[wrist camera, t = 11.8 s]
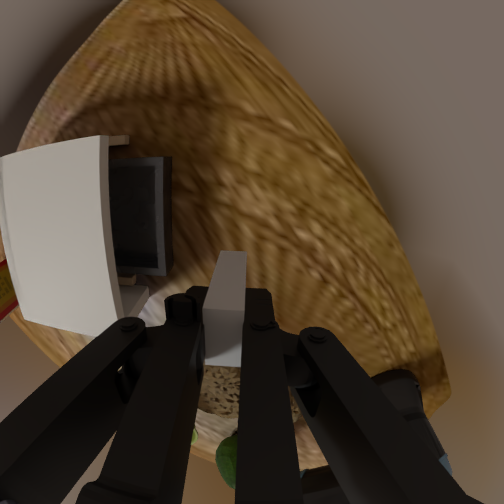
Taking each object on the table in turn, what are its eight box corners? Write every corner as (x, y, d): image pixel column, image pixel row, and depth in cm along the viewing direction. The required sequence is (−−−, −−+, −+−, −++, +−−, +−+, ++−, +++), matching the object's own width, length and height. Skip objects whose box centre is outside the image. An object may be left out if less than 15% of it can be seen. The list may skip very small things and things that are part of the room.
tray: (171, 156, 26) (163, 156, 23) (173, 265, 30) (166, 276, 27) (54, 165, 25) (40, 168, 23) (63, 257, 30) (51, 266, 27)
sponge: (310, 375, 38) (216, 315, 29) (317, 421, 32) (210, 378, 23) (246, 399, 43) (151, 352, 34) (246, 438, 37) (140, 401, 28)
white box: (141, 134, 25) (100, 128, 17) (149, 296, 31) (122, 341, 23) (44, 148, 25) (-5, 154, 16) (60, 286, 31) (24, 319, 23)
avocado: (267, 432, 42) (270, 486, 31) (247, 448, 44) (247, 497, 33) (227, 422, 40) (224, 479, 29) (210, 439, 43) (205, 490, 32)
